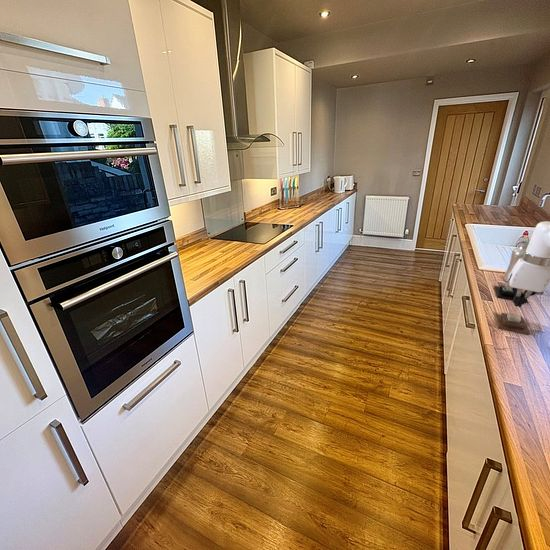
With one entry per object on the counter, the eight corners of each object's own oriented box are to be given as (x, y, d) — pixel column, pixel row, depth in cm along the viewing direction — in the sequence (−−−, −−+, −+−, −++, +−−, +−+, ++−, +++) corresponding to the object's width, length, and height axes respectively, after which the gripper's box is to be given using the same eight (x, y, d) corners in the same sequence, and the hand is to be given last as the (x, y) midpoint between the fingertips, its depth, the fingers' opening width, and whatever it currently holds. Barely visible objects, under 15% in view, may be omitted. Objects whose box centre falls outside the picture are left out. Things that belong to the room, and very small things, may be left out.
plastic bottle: (521, 285, 136) (537, 245, 128) (504, 283, 139) (518, 244, 130) (516, 279, 142) (531, 241, 133) (500, 277, 144) (513, 239, 135)
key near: (517, 318, 108) (519, 314, 108) (519, 323, 106) (521, 319, 105) (506, 316, 110) (508, 312, 109) (508, 320, 107) (509, 317, 106)
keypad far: (520, 292, 131) (522, 286, 129) (525, 303, 123) (528, 296, 121) (493, 288, 135) (495, 282, 134) (496, 297, 127) (499, 291, 126)
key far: (515, 289, 128) (516, 285, 128) (516, 292, 125) (518, 289, 125) (505, 287, 130) (506, 284, 129) (506, 291, 127) (507, 287, 126)
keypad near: (522, 322, 110) (525, 315, 109) (528, 335, 103) (531, 328, 102) (494, 316, 114) (496, 310, 113) (498, 328, 107) (500, 322, 106)
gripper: (562, 259, 97) (540, 305, 105) (508, 251, 103) (491, 295, 111) (570, 267, 91) (545, 315, 99) (512, 259, 97) (493, 305, 106)
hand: (516, 304), depth 105 cm, fingers closed
